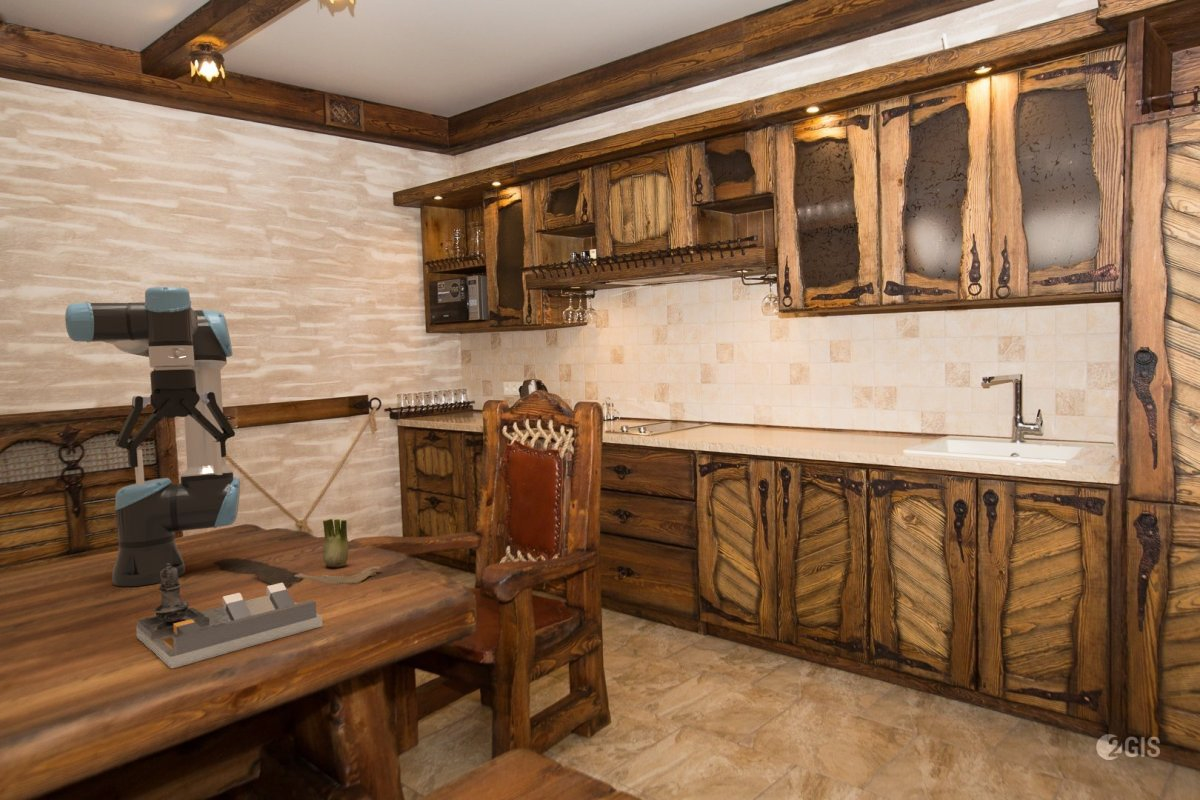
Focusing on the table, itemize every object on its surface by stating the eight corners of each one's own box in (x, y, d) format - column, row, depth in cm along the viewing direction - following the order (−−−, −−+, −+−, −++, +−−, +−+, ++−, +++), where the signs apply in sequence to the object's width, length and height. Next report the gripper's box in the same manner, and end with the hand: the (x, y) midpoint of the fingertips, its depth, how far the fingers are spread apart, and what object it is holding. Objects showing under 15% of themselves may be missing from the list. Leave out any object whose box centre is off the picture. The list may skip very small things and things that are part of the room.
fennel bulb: (352, 565, 188) (349, 517, 187) (335, 570, 184) (332, 521, 183) (336, 563, 191) (333, 515, 190) (320, 568, 187) (317, 519, 186)
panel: (136, 637, 143) (134, 611, 142) (277, 602, 161) (275, 579, 160) (171, 668, 127) (169, 639, 126) (322, 626, 145) (320, 600, 145)
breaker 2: (265, 592, 147) (266, 586, 146) (281, 588, 149) (282, 582, 148) (281, 620, 142) (282, 614, 142) (297, 616, 144) (298, 610, 144)
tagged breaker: (173, 631, 137) (173, 623, 137) (191, 627, 139) (191, 619, 139) (187, 644, 131) (187, 636, 131) (206, 639, 133) (205, 631, 133)
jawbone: (372, 587, 172) (371, 578, 172) (281, 593, 172) (280, 584, 171) (382, 573, 181) (381, 564, 181) (295, 578, 181) (294, 570, 180)
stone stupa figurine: (198, 620, 145) (193, 558, 144) (175, 631, 139) (169, 567, 138) (171, 619, 146) (166, 558, 145) (147, 630, 140) (142, 566, 139)
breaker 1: (221, 602, 141) (222, 596, 141) (238, 598, 144) (239, 592, 143) (236, 632, 137) (237, 626, 136) (253, 627, 139) (254, 621, 138)
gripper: (100, 371, 134) (109, 490, 135) (247, 366, 151) (254, 472, 152) (91, 371, 139) (100, 486, 140) (234, 366, 157) (241, 469, 158)
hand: (180, 479), depth 146 cm, fingers open, 13 cm apart
